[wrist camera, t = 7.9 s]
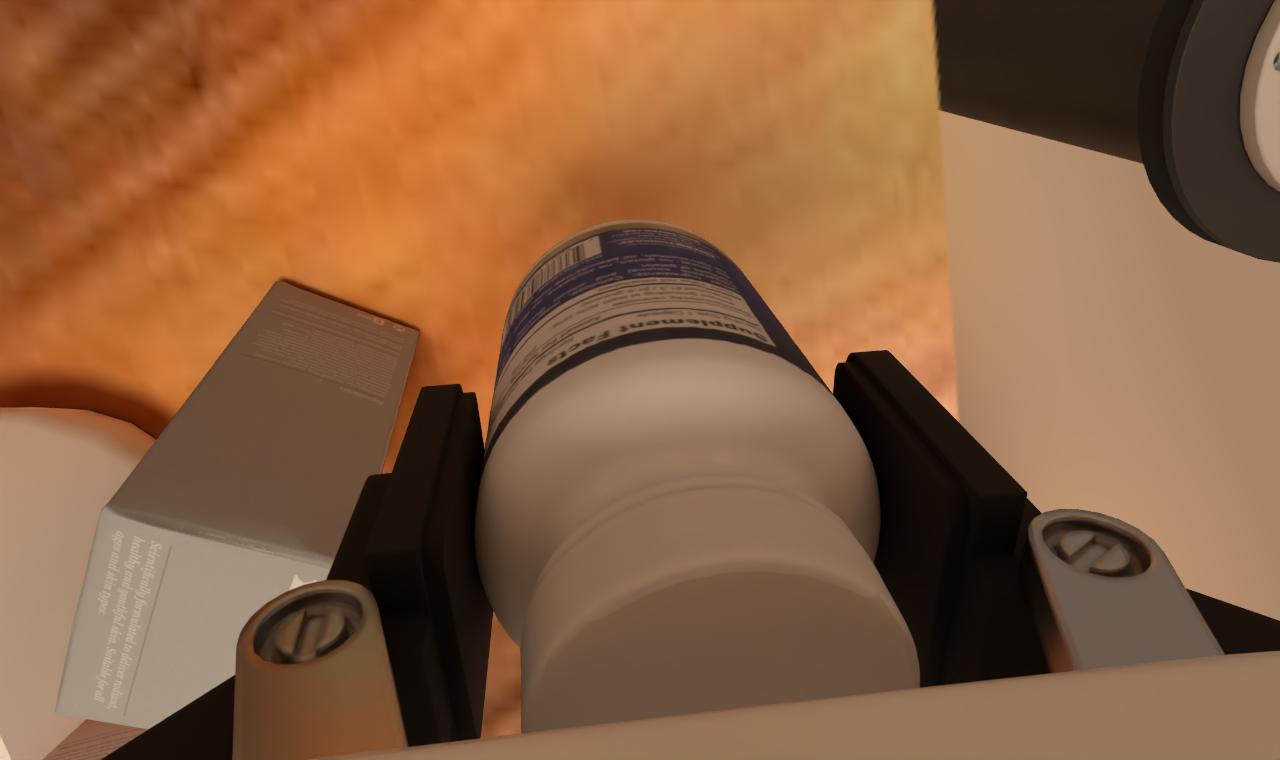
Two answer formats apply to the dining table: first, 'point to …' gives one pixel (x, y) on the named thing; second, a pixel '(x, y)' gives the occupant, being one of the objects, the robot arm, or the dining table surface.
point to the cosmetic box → (233, 504)
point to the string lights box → (93, 741)
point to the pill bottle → (674, 495)
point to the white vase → (49, 554)
